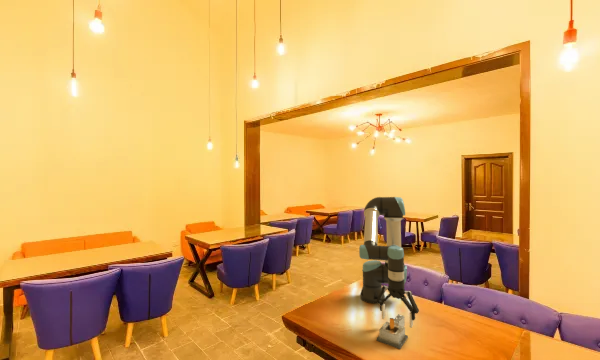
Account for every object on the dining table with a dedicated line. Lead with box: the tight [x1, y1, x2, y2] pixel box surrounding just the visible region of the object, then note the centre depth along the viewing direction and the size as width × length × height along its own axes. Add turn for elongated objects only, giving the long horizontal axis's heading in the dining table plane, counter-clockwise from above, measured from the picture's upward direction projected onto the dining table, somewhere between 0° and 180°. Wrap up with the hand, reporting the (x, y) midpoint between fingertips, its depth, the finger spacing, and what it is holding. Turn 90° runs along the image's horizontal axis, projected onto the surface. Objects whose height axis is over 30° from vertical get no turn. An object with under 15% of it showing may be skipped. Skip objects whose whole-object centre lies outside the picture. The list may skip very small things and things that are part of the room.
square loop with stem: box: [378, 314, 406, 345], centre depth 131 cm, size 18×9×5 cm, turn 142°
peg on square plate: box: [375, 317, 409, 350], centre depth 128 cm, size 11×11×10 cm
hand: (397, 321), depth 133 cm, fingers open, 13 cm apart
